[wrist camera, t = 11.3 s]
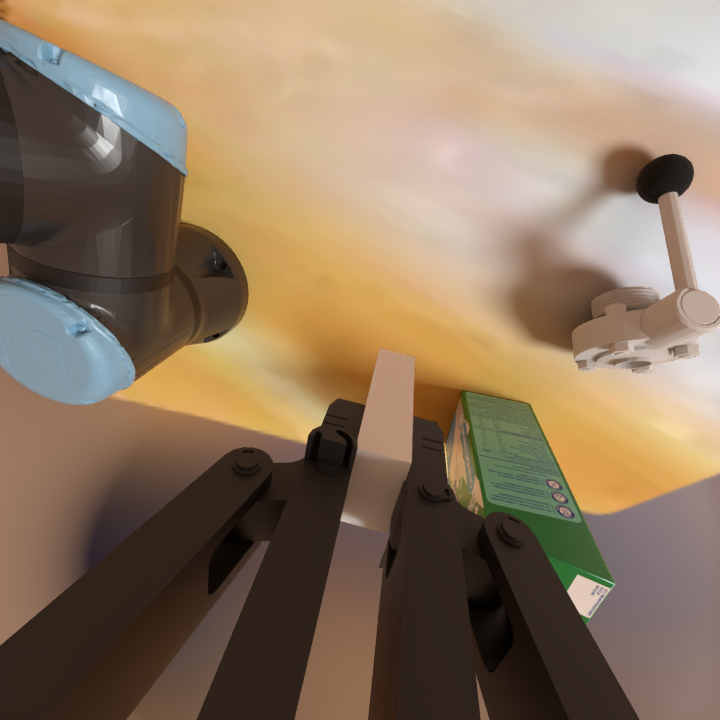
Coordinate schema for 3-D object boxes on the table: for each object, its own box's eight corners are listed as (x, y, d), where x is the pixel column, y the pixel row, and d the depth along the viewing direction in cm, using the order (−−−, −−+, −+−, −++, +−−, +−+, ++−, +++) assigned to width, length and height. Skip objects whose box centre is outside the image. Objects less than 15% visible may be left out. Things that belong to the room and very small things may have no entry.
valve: (557, 374, 43) (649, 328, 29) (544, 239, 48) (618, 142, 34) (650, 378, 43) (790, 333, 29) (627, 241, 48) (737, 144, 34)
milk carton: (462, 389, 50) (492, 556, 28) (530, 403, 50) (617, 586, 27) (445, 443, 54) (460, 626, 32) (508, 457, 54) (569, 653, 31)
